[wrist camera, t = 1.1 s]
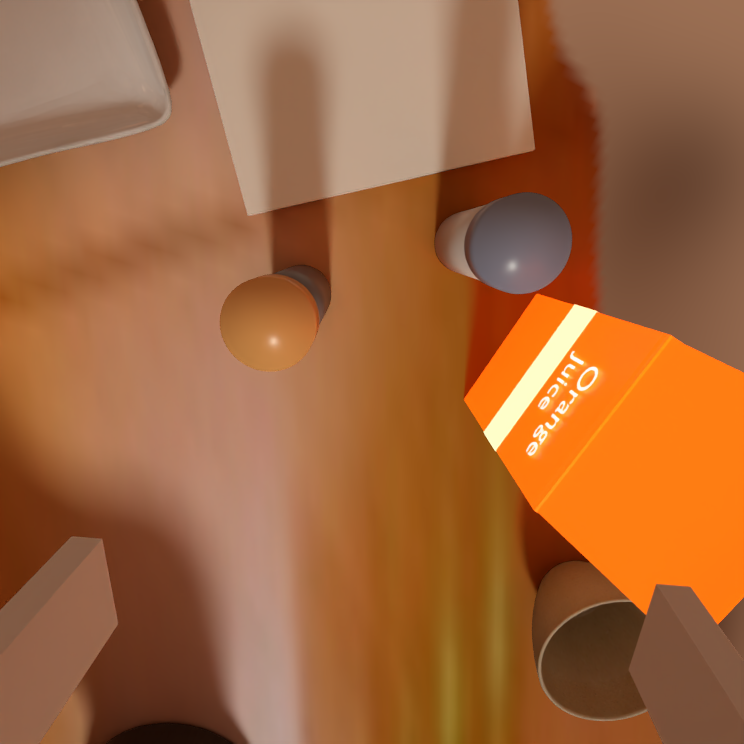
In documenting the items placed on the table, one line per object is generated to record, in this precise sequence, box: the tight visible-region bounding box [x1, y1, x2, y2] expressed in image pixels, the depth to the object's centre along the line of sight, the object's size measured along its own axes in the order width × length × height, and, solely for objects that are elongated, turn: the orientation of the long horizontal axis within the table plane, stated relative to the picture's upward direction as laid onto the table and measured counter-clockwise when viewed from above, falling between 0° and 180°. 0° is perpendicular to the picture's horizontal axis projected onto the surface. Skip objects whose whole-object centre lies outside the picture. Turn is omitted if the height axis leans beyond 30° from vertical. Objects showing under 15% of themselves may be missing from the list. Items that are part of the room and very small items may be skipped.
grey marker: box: [434, 192, 572, 294], centre depth 25 cm, size 4×4×12 cm
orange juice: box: [464, 294, 744, 624], centre depth 24 cm, size 8×9×20 cm
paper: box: [189, 0, 535, 216], centre depth 28 cm, size 18×13×1 cm
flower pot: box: [532, 561, 648, 721], centre depth 35 cm, size 10×10×7 cm
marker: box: [220, 265, 331, 371], centre depth 26 cm, size 4×4×12 cm
